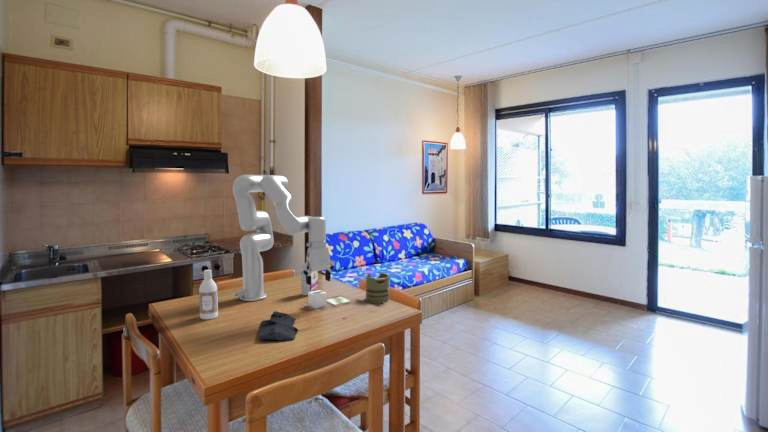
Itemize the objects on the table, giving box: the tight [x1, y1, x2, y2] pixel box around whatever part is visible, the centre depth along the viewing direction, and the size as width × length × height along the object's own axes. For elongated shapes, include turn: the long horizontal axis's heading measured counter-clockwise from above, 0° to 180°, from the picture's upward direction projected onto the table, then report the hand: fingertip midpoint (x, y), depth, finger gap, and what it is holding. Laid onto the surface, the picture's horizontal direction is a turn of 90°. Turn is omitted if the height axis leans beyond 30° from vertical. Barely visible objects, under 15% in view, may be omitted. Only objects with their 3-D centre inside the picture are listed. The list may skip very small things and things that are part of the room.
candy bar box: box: [300, 267, 319, 296], centre depth 196 cm, size 11×5×16 cm, turn 170°
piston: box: [365, 272, 390, 304], centre depth 189 cm, size 11×12×11 cm
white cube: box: [307, 289, 328, 309], centre depth 175 cm, size 6×6×6 cm
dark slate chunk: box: [258, 310, 299, 342], centre depth 150 cm, size 15×22×5 cm
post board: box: [300, 294, 357, 313], centre depth 179 cm, size 22×14×6 cm, turn 130°
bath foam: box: [198, 269, 219, 321], centre depth 162 cm, size 7×7×20 cm
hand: (318, 282), depth 174 cm, fingers open, 9 cm apart
